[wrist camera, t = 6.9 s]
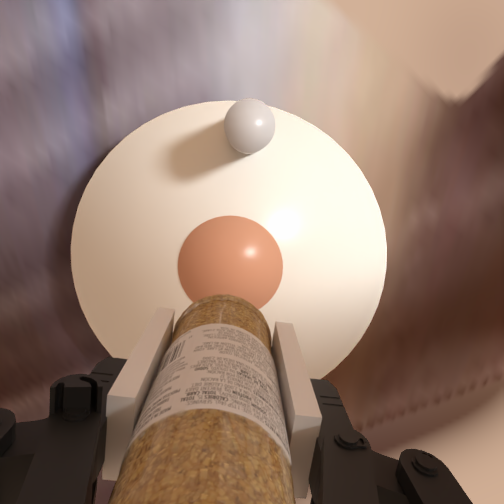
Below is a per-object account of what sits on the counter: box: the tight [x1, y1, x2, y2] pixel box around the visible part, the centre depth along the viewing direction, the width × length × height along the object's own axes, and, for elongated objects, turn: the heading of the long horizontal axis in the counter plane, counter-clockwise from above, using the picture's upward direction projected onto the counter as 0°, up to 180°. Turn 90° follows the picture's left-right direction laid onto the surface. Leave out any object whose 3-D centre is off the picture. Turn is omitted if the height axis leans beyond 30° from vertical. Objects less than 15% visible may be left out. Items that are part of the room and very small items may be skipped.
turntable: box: [71, 98, 387, 379], centre depth 28 cm, size 24×24×7 cm
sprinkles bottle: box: [108, 294, 295, 504], centre depth 11 cm, size 5×5×13 cm
